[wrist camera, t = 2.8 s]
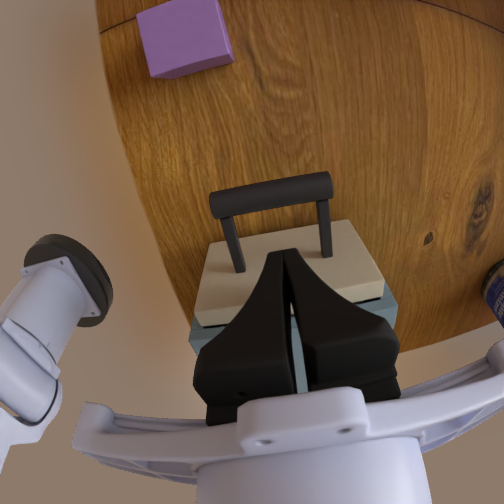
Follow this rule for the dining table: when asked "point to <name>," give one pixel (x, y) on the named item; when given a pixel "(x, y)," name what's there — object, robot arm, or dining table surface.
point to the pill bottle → (495, 291)
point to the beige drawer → (281, 247)
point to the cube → (184, 37)
